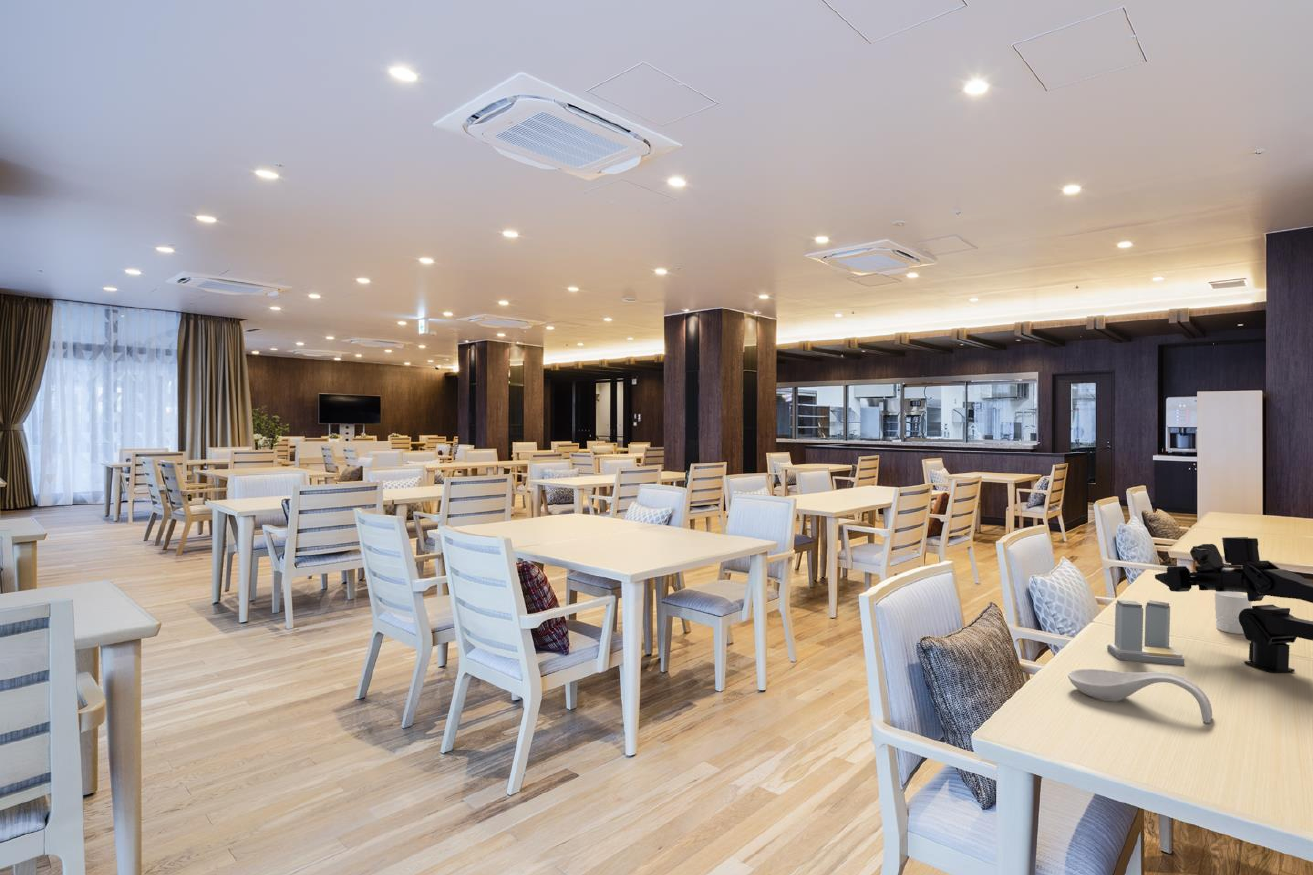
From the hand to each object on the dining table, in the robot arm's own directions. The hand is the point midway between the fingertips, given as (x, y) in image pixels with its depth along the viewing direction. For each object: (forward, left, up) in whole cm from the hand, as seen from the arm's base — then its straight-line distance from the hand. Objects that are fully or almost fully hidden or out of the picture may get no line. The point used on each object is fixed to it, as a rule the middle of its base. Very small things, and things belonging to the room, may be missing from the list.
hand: (1169, 576), depth 185 cm
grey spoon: (-40, +45, -17) cm, 63 cm away
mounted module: (-14, +24, -14) cm, 31 cm away
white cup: (+4, -23, -16) cm, 29 cm away
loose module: (-7, +10, -16) cm, 20 cm away
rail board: (-15, +20, -16) cm, 30 cm away
